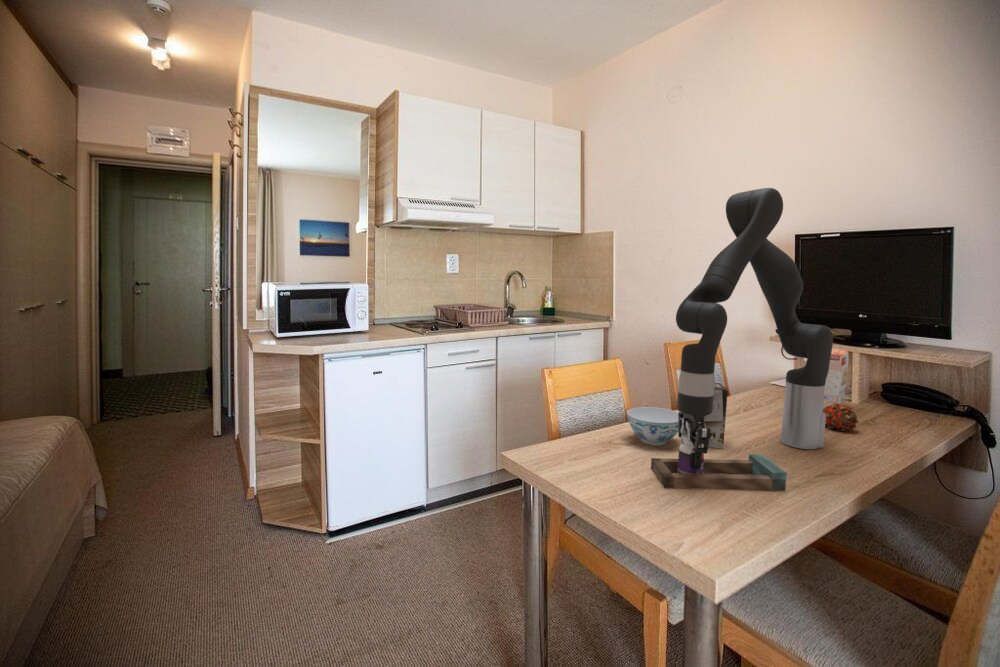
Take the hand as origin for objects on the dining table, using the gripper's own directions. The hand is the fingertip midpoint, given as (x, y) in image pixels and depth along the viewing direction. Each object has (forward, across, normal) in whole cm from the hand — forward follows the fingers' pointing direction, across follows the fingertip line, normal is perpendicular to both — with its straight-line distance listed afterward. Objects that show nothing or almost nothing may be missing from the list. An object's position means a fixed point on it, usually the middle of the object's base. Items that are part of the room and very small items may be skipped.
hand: (690, 463), depth 115 cm
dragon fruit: (+3, +40, -58) cm, 70 cm away
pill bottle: (+4, 0, 0) cm, 4 cm away
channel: (+3, 0, -6) cm, 7 cm away
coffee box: (+4, +25, -14) cm, 29 cm away
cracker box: (+3, +60, -69) cm, 91 cm away
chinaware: (+4, +25, +1) cm, 25 cm away
